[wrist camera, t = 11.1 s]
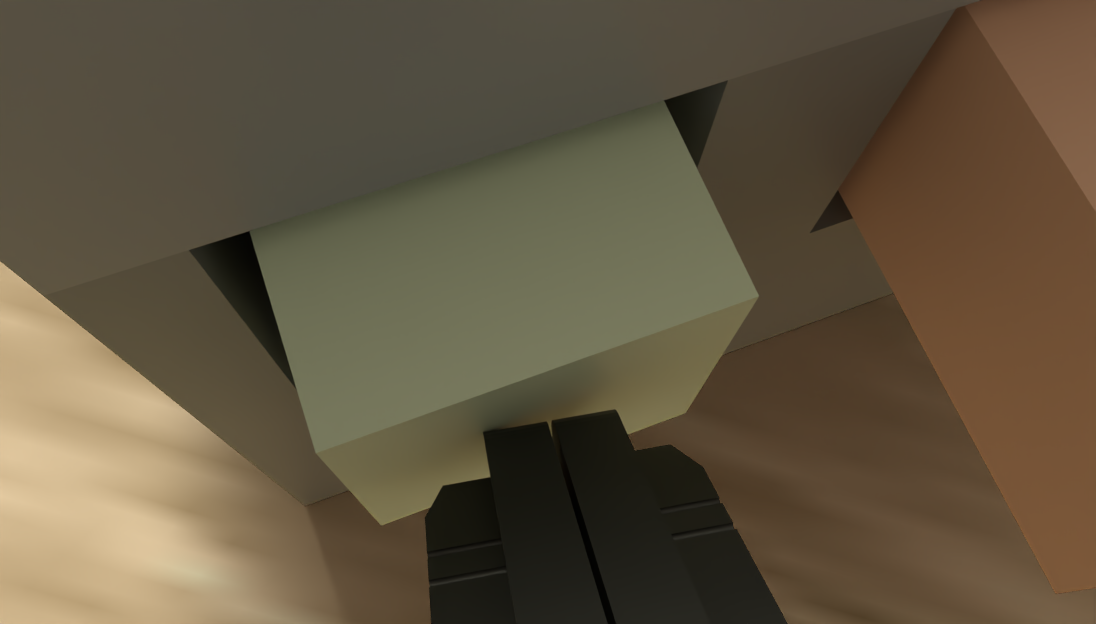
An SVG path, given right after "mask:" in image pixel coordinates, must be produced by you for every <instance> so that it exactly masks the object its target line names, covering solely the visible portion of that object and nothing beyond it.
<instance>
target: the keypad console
mask: <svg viewBox="0 0 1096 624" xmlns="http://www.w3.org/2000/svg"><path fill="white" fill-rule="evenodd" d="M978 1H981V0H0V261H1V262H2V263H3V264H5V265H6V266H7V267H8V268H9V269H11V270H12V271H13V272H14V273H16V274H17V275H18V276H19V277H21V278H22V279H23V280H24V281H26V282H27V283H28V284H29V285H31V286H32V287H33V288H34V289H36V290H37V291H38V292H39V293H41V294H42V295H43V296H44V297H46V298H47V299H48V300H49V301H51V302H52V303H53V304H54V305H56V306H57V307H58V308H59V309H60V310H62V311H63V312H64V313H65V314H67V315H68V316H69V317H70V318H72V319H73V320H74V321H75V322H77V323H78V324H79V325H80V326H82V327H83V328H84V329H85V330H87V331H88V332H89V333H90V334H92V335H93V336H94V337H95V338H97V339H98V340H99V341H100V342H102V343H103V344H104V345H105V346H107V347H108V348H109V349H110V350H112V351H113V352H114V353H115V354H116V355H118V356H119V357H120V358H121V359H123V360H124V361H125V362H126V363H128V364H129V365H130V366H131V367H133V368H134V369H135V370H136V371H138V372H139V373H140V374H141V375H143V376H144V377H145V378H146V379H148V380H149V381H150V382H151V383H153V384H154V385H155V386H156V387H158V388H159V389H160V390H161V391H163V392H164V393H165V394H166V395H167V396H169V397H170V398H171V399H172V400H174V401H175V402H176V403H177V404H179V405H180V406H181V407H182V408H184V409H185V410H186V411H187V412H189V413H190V414H191V415H192V416H194V417H195V418H196V419H197V420H199V421H200V422H201V423H202V424H204V425H205V426H206V427H207V428H209V429H210V430H211V431H212V432H214V433H215V434H216V435H217V436H218V437H220V438H221V439H222V440H223V441H225V442H226V443H227V444H228V445H230V446H231V447H232V448H233V449H235V450H236V451H237V452H238V453H240V454H241V455H242V456H243V457H245V458H246V459H247V460H248V461H250V462H251V463H252V464H253V465H255V466H256V467H257V468H258V469H260V470H261V471H262V472H263V473H265V474H266V475H267V476H268V477H269V478H271V479H272V480H273V481H274V482H276V483H277V484H278V485H279V486H281V487H282V488H283V489H284V490H286V491H287V492H288V493H289V494H291V495H292V496H293V497H294V498H296V499H297V500H298V501H299V502H301V503H302V504H303V505H304V506H307V505H309V504H312V503H315V502H318V501H320V500H323V499H326V498H329V497H331V496H334V495H337V494H340V493H343V492H345V491H348V490H349V489H348V488H347V487H346V486H345V485H344V484H343V483H342V482H341V481H340V480H339V478H338V477H337V476H336V475H335V474H334V473H333V472H332V471H331V470H330V468H329V467H328V466H327V465H326V464H325V463H324V462H323V461H322V460H321V458H320V457H319V456H318V455H317V454H316V453H315V449H314V446H313V442H312V439H311V436H310V432H309V429H308V426H307V422H306V419H305V416H304V412H303V409H302V406H301V402H300V399H299V396H298V392H297V389H296V386H295V382H294V379H293V376H292V372H291V369H290V365H289V362H288V359H287V355H286V352H285V349H284V345H283V342H282V339H281V335H280V332H279V329H278V325H277V322H276V319H275V315H274V312H273V309H272V305H271V302H270V299H269V295H268V292H267V289H266V285H265V282H264V278H263V275H262V272H261V268H260V265H259V262H258V258H257V255H256V252H255V248H254V245H253V242H252V238H251V235H250V232H249V231H251V230H254V229H257V228H260V227H263V226H267V225H270V224H273V223H276V222H279V221H282V220H286V219H289V218H292V217H295V216H298V215H302V214H305V213H308V212H311V211H314V210H317V209H321V208H324V207H327V206H330V205H333V204H336V203H340V202H343V201H346V200H349V199H352V198H355V197H359V196H362V195H365V194H368V193H371V192H375V191H378V190H381V189H384V188H387V187H390V186H394V185H397V184H400V183H403V182H406V181H409V180H413V179H416V178H419V177H422V176H425V175H429V174H432V173H435V172H438V171H441V170H444V169H448V168H451V167H454V166H457V165H460V164H463V163H467V162H470V161H473V160H476V159H479V158H482V157H486V156H489V155H492V154H495V153H498V152H502V151H505V150H508V149H511V148H514V147H517V146H521V145H524V144H527V143H530V142H533V141H536V140H540V139H543V138H546V137H549V136H552V135H555V134H559V133H562V132H565V131H568V130H571V129H575V128H578V127H581V126H584V125H587V124H590V123H594V122H597V121H600V120H603V119H606V118H609V117H613V116H616V115H619V114H622V113H625V112H628V111H632V110H635V109H638V108H641V107H644V106H648V105H651V104H654V103H657V102H660V101H663V100H664V102H665V104H666V106H667V108H668V110H669V112H670V114H671V116H672V118H673V120H674V122H675V124H676V126H677V128H678V130H679V133H680V135H681V137H682V139H683V141H684V143H685V145H686V147H687V149H688V151H689V153H690V155H691V157H692V159H693V161H694V163H695V165H696V167H697V170H698V172H699V174H700V176H701V178H702V180H703V182H704V184H705V186H706V188H707V190H708V192H709V194H710V196H711V198H712V200H713V202H714V204H715V207H716V209H717V211H718V213H719V215H720V217H721V219H722V221H723V223H724V225H725V227H726V229H727V231H728V233H729V235H730V237H731V239H732V241H733V243H734V246H735V248H736V250H737V252H738V254H739V256H740V258H741V260H742V262H743V264H744V266H745V268H746V270H747V272H748V274H749V276H750V278H751V280H752V283H753V285H754V287H755V289H756V291H757V293H758V295H759V297H758V299H757V300H756V302H755V304H754V305H753V307H752V308H751V310H750V312H749V313H748V315H747V316H746V318H745V319H744V321H743V323H742V324H741V326H740V327H739V329H738V331H737V332H736V334H735V335H734V337H733V339H732V340H731V342H730V343H729V345H728V346H727V348H726V350H725V351H724V353H723V354H722V355H724V354H727V353H729V352H732V351H735V350H738V349H740V348H743V347H746V346H749V345H751V344H754V343H757V342H760V341H763V340H765V339H768V338H771V337H774V336H776V335H779V334H782V333H785V332H787V331H790V330H793V329H796V328H798V327H801V326H804V325H807V324H810V323H812V322H815V321H818V320H821V319H823V318H826V317H829V316H832V315H834V314H837V313H840V312H843V311H845V310H848V309H851V308H854V307H856V306H859V305H862V304H865V303H868V302H870V301H873V300H876V299H879V298H881V297H884V296H887V295H890V294H892V293H893V291H892V289H891V288H890V286H889V284H888V282H887V280H886V278H885V276H884V275H883V273H882V271H881V269H880V267H879V265H878V263H877V262H876V260H875V258H874V256H873V254H872V252H871V250H870V249H869V247H868V245H867V243H866V241H865V239H864V237H863V236H862V234H861V232H860V230H859V228H858V226H857V224H856V223H855V221H854V219H853V217H852V215H851V213H850V211H849V210H848V208H847V206H846V204H845V202H844V200H843V198H842V197H841V195H840V193H839V191H838V189H839V187H840V186H841V184H842V183H843V181H844V180H845V178H846V177H847V175H848V174H849V172H850V170H851V169H852V167H853V166H854V164H855V163H856V161H857V160H858V158H859V157H860V155H861V154H862V152H863V151H864V149H865V148H866V146H867V144H868V143H869V141H870V140H871V138H872V137H873V135H874V134H875V132H876V131H877V129H878V128H879V126H880V125H881V123H882V121H883V120H884V118H885V117H886V115H887V114H888V112H889V111H890V109H891V108H892V106H893V105H894V103H895V102H896V100H897V99H898V97H899V95H900V94H901V92H902V91H903V89H904V88H905V86H906V85H907V83H908V82H909V80H910V79H911V77H912V76H913V74H914V73H915V71H916V69H917V68H918V66H919V65H920V63H921V62H922V60H923V59H924V57H925V56H926V54H927V53H928V51H929V50H930V48H931V46H932V45H933V43H934V42H935V40H936V39H937V37H938V36H939V34H940V33H941V31H942V30H943V28H944V27H945V25H946V24H947V22H948V20H949V19H950V17H951V16H952V14H953V13H954V11H955V10H956V8H959V7H962V6H965V5H968V4H971V3H974V2H978Z"/></svg>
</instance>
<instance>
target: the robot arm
mask: <svg viewBox="0 0 1096 624" xmlns="http://www.w3.org/2000/svg"><path fill="white" fill-rule="evenodd" d="M551 428H552V435H551V432H550V429H549V425H548V423H547V421H545V422H540V423H534V424H528V425H523V426H517V427H511V428H505V429H500V430H494V431H488V432H483V435H484V442H485V448H486V454H487V461H488V467H489V473H490V477H488V478H482V479H477V480H471V481H466V482H460V483H455V484H449V485H443V486H442V488H441V490H440V491H439V493H438V495H437V497H436V499H435V501H434V502H433V504H432V506H431V508H430V510H429V512H428V513H427V515H426V517H425V525H426V541H427V554H428V575H429V584H430V587H429V592H430V609H431V624H788V623H787V622H786V620H785V618H784V616H783V614H782V612H781V611H780V609H779V607H778V605H777V603H776V601H775V599H774V598H773V596H772V594H771V592H770V590H769V588H768V587H767V585H766V583H765V581H764V579H763V577H762V575H761V574H760V572H759V570H758V568H757V566H756V564H755V563H754V561H753V559H752V557H751V555H750V553H749V551H748V550H747V548H746V546H745V544H744V542H743V540H742V539H741V537H740V535H739V533H738V531H737V529H734V527H733V522H732V520H731V518H730V516H729V514H728V513H727V511H726V509H725V507H724V505H723V503H720V500H719V496H718V494H717V492H716V490H715V489H714V487H713V485H712V483H711V481H710V479H709V478H708V476H707V474H706V472H705V470H704V468H703V467H702V466H701V465H699V464H698V463H696V462H695V461H693V460H692V459H691V458H689V457H688V456H686V455H685V454H683V453H682V452H681V451H679V450H678V449H676V448H675V447H673V446H672V445H665V446H659V447H654V448H648V449H643V450H637V451H635V450H634V448H633V446H632V444H631V441H630V439H629V437H628V434H627V432H626V430H625V428H624V425H623V423H622V421H621V418H620V416H619V414H618V412H617V411H616V410H615V409H613V410H607V411H601V412H596V413H590V414H584V415H578V416H573V417H567V418H561V419H556V420H552V422H551Z"/></svg>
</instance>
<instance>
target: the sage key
mask: <svg viewBox="0 0 1096 624" xmlns="http://www.w3.org/2000/svg"><path fill="white" fill-rule="evenodd" d="M249 232H250V235H251V238H252V242H253V245H254V248H255V252H256V255H257V258H258V262H259V265H260V268H261V272H262V275H263V278H264V282H265V285H266V289H267V292H268V295H269V299H270V302H271V305H272V309H273V312H274V315H275V319H276V322H277V325H278V329H279V332H280V335H281V339H282V342H283V345H284V349H285V352H286V355H287V359H288V362H289V365H290V369H291V372H292V376H293V379H294V382H295V386H296V389H297V392H298V396H299V399H300V402H301V406H302V409H303V412H304V416H305V419H306V422H307V426H308V429H309V432H310V436H311V439H312V442H313V446H314V449H315V453H316V454H317V455H318V456H319V457H320V458H321V460H322V461H323V462H324V463H325V464H326V465H327V466H328V467H329V468H330V470H331V471H332V472H333V473H334V474H335V475H336V476H337V477H338V478H339V480H340V481H341V482H342V483H343V484H344V485H345V486H346V487H347V488H348V489H349V491H350V492H351V493H352V494H353V495H354V496H355V497H356V498H357V499H358V501H359V502H360V503H361V504H362V505H363V506H364V507H365V508H366V509H367V510H368V512H369V513H370V514H371V515H372V516H373V517H374V518H375V519H376V520H377V522H378V523H379V524H380V525H381V526H382V525H385V524H387V523H390V522H393V521H395V520H398V519H401V518H404V517H406V516H409V515H412V514H414V513H417V512H420V511H422V510H425V509H428V508H431V506H432V504H433V502H434V501H435V499H436V497H437V495H438V493H439V491H440V490H441V488H442V486H443V485H449V484H455V483H460V482H466V481H471V480H477V479H482V478H488V477H490V473H489V467H488V461H487V454H486V448H485V442H484V435H483V432H488V431H494V430H500V429H505V428H511V427H517V426H523V425H528V424H534V423H540V422H545V421H547V423H548V425H549V429H550V432H551V435H552V428H551V422H552V420H556V419H561V418H567V417H573V416H578V415H584V414H590V413H596V412H601V411H607V410H613V409H615V410H616V411H617V412H618V414H619V416H620V418H621V421H622V423H623V425H624V428H625V430H626V432H627V434H631V433H634V432H636V431H639V430H642V429H644V428H647V427H650V426H652V425H655V424H658V423H661V422H663V421H666V420H669V419H671V418H674V417H677V416H680V415H682V414H685V413H686V412H687V410H688V408H689V407H690V405H691V404H692V402H693V401H694V399H695V397H696V396H697V394H698V393H699V391H700V389H701V388H702V386H703V385H704V383H705V381H706V380H707V378H708V377H709V375H710V374H711V372H712V370H713V369H714V367H715V366H716V364H717V362H718V361H719V359H720V358H721V356H722V354H723V353H724V351H725V350H726V348H727V346H728V345H729V343H730V342H731V340H732V339H733V337H734V335H735V334H736V332H737V331H738V329H739V327H740V326H741V324H742V323H743V321H744V319H745V318H746V316H747V315H748V313H749V312H750V310H751V308H752V307H753V305H754V304H755V302H756V300H757V299H758V297H759V295H758V293H757V291H756V289H755V287H754V285H753V283H752V280H751V278H750V276H749V274H748V272H747V270H746V268H745V266H744V264H743V262H742V260H741V258H740V256H739V254H738V252H737V250H736V248H735V246H734V243H733V241H732V239H731V237H730V235H729V233H728V231H727V229H726V227H725V225H724V223H723V221H722V219H721V217H720V215H719V213H718V211H717V209H716V207H715V204H714V202H713V200H712V198H711V196H710V194H709V192H708V190H707V188H706V186H705V184H704V182H703V180H702V178H701V176H700V174H699V172H698V170H697V167H696V165H695V163H694V161H693V159H692V157H691V155H690V153H689V151H688V149H687V147H686V145H685V143H684V141H683V139H682V137H681V135H680V133H679V130H678V128H677V126H676V124H675V122H674V120H673V118H672V116H671V114H670V112H669V110H668V108H667V106H666V104H665V102H664V100H663V101H660V102H657V103H654V104H651V105H648V106H644V107H641V108H638V109H635V110H632V111H628V112H625V113H622V114H619V115H616V116H613V117H609V118H606V119H603V120H600V121H597V122H594V123H590V124H587V125H584V126H581V127H578V128H575V129H571V130H568V131H565V132H562V133H559V134H555V135H552V136H549V137H546V138H543V139H540V140H536V141H533V142H530V143H527V144H524V145H521V146H517V147H514V148H511V149H508V150H505V151H502V152H498V153H495V154H492V155H489V156H486V157H482V158H479V159H476V160H473V161H470V162H467V163H463V164H460V165H457V166H454V167H451V168H448V169H444V170H441V171H438V172H435V173H432V174H429V175H425V176H422V177H419V178H416V179H413V180H409V181H406V182H403V183H400V184H397V185H394V186H390V187H387V188H384V189H381V190H378V191H375V192H371V193H368V194H365V195H362V196H359V197H355V198H352V199H349V200H346V201H343V202H340V203H336V204H333V205H330V206H327V207H324V208H321V209H317V210H314V211H311V212H308V213H305V214H302V215H298V216H295V217H292V218H289V219H286V220H282V221H279V222H276V223H273V224H270V225H267V226H263V227H260V228H257V229H254V230H251V231H249Z"/></svg>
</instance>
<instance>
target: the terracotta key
mask: <svg viewBox="0 0 1096 624" xmlns="http://www.w3.org/2000/svg"><path fill="white" fill-rule="evenodd" d="M838 191H839V193H840V195H841V197H842V198H843V200H844V202H845V204H846V206H847V208H848V210H849V211H850V213H851V215H852V217H853V219H854V221H855V223H856V224H857V226H858V228H859V230H860V232H861V234H862V236H863V237H864V239H865V241H866V243H867V245H868V247H869V249H870V250H871V252H872V254H873V256H874V258H875V260H876V262H877V263H878V265H879V267H880V269H881V271H882V273H883V275H884V276H885V278H886V280H887V282H888V284H889V286H890V288H891V289H892V291H893V293H894V295H895V297H896V299H897V301H898V302H899V304H900V306H901V308H902V310H903V312H904V314H905V315H906V317H907V319H908V321H909V323H910V325H911V327H912V328H913V330H914V332H915V334H916V336H917V338H918V340H919V341H920V343H921V345H922V347H923V349H924V351H925V353H926V354H927V356H928V358H929V360H930V362H931V364H932V366H933V367H934V369H935V371H936V373H937V375H938V377H939V379H940V380H941V382H942V384H943V386H944V388H945V390H946V392H947V393H948V395H949V397H950V399H951V401H952V403H953V405H954V406H955V408H956V410H957V412H958V414H959V416H960V418H961V419H962V421H963V423H964V425H965V427H966V429H967V431H968V432H969V434H970V436H971V438H972V440H973V442H974V444H975V445H976V447H977V449H978V451H979V453H980V455H981V457H982V458H983V460H984V462H985V464H986V466H987V468H988V470H989V471H990V473H991V475H992V477H993V479H994V481H995V483H996V484H997V486H998V488H999V490H1000V492H1001V494H1002V496H1003V497H1004V499H1005V501H1006V503H1007V505H1008V507H1009V509H1010V510H1011V512H1012V514H1013V516H1014V518H1015V520H1016V522H1017V523H1018V525H1019V527H1020V529H1021V531H1022V533H1023V535H1024V536H1025V538H1026V540H1027V542H1028V544H1029V546H1030V548H1031V549H1032V551H1033V553H1034V555H1035V557H1036V559H1037V561H1038V562H1039V564H1040V566H1041V568H1042V570H1043V572H1044V574H1045V575H1046V577H1047V579H1048V581H1049V583H1050V585H1051V587H1052V588H1053V590H1054V592H1055V594H1060V593H1066V592H1073V591H1079V590H1085V589H1092V588H1096V0H981V1H978V2H974V3H971V4H968V5H965V6H962V7H959V8H956V10H955V11H954V13H953V14H952V16H951V17H950V19H949V20H948V22H947V24H946V25H945V27H944V28H943V30H942V31H941V33H940V34H939V36H938V37H937V39H936V40H935V42H934V43H933V45H932V46H931V48H930V50H929V51H928V53H927V54H926V56H925V57H924V59H923V60H922V62H921V63H920V65H919V66H918V68H917V69H916V71H915V73H914V74H913V76H912V77H911V79H910V80H909V82H908V83H907V85H906V86H905V88H904V89H903V91H902V92H901V94H900V95H899V97H898V99H897V100H896V102H895V103H894V105H893V106H892V108H891V109H890V111H889V112H888V114H887V115H886V117H885V118H884V120H883V121H882V123H881V125H880V126H879V128H878V129H877V131H876V132H875V134H874V135H873V137H872V138H871V140H870V141H869V143H868V144H867V146H866V148H865V149H864V151H863V152H862V154H861V155H860V157H859V158H858V160H857V161H856V163H855V164H854V166H853V167H852V169H851V170H850V172H849V174H848V175H847V177H846V178H845V180H844V181H843V183H842V184H841V186H840V187H839V189H838Z"/></svg>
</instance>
